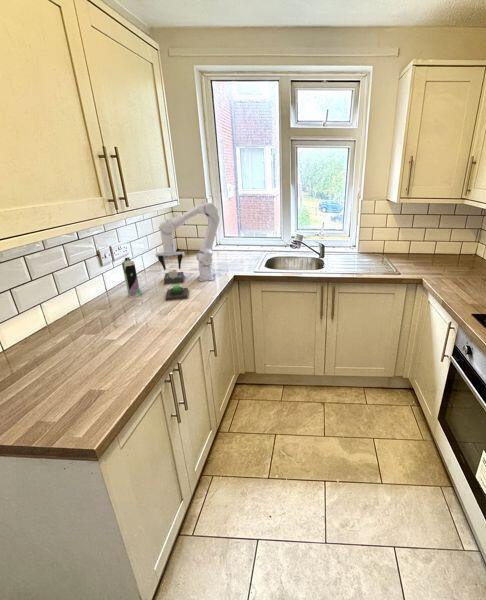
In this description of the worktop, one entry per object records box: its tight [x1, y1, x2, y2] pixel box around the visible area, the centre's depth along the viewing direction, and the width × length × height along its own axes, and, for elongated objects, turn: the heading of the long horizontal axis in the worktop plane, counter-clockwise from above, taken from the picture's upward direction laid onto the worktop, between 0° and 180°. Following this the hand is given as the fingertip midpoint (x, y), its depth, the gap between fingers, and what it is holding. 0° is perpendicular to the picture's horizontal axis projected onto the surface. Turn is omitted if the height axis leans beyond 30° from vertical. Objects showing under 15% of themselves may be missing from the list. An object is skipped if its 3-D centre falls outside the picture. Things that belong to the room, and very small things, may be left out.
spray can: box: [121, 256, 142, 298], centre depth 158 cm, size 6×6×20 cm
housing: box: [165, 286, 189, 301], centre depth 162 cm, size 12×10×4 cm
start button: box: [171, 285, 181, 291], centre depth 161 cm, size 4×4×2 cm
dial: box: [167, 269, 178, 278], centre depth 180 cm, size 4×4×4 cm
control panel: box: [163, 271, 185, 285], centre depth 184 cm, size 13×10×3 cm
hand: (172, 269), depth 175 cm, fingers open, 7 cm apart
